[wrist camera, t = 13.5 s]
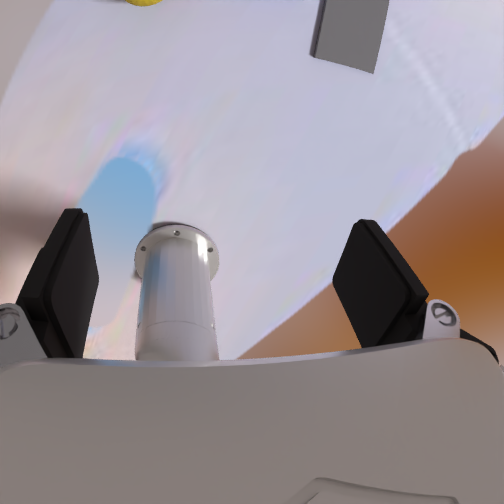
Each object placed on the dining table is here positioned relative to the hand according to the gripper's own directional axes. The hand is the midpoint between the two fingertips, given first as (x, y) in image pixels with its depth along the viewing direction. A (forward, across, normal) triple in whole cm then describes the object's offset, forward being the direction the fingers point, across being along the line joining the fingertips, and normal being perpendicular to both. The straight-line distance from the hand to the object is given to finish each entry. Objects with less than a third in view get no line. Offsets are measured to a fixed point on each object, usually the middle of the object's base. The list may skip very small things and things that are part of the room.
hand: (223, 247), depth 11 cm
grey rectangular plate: (+28, -16, -12) cm, 35 cm away
